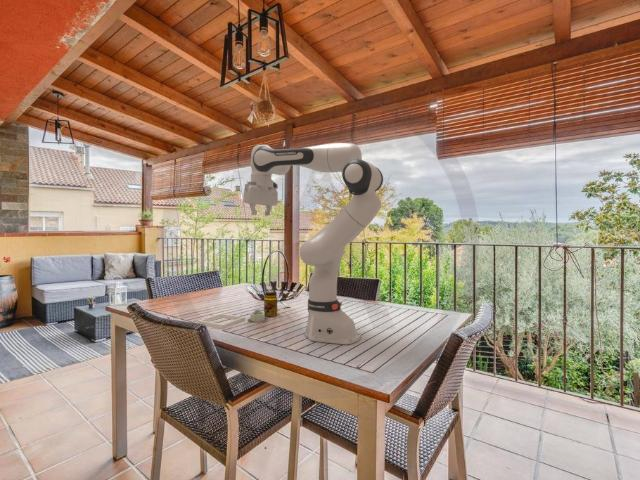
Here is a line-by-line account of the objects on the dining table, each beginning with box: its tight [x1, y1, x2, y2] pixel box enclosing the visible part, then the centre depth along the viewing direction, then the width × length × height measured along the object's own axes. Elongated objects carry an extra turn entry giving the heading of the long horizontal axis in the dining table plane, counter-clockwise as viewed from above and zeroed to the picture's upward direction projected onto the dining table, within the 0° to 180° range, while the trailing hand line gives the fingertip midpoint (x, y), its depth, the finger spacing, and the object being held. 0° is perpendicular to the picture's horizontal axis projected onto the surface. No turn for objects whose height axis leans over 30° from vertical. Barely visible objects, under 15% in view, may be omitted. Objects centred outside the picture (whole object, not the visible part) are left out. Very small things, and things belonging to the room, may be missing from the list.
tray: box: [197, 313, 246, 330], centre depth 151 cm, size 14×14×2 cm
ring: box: [250, 311, 266, 323], centre depth 156 cm, size 6×6×3 cm
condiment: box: [263, 291, 278, 318], centre depth 165 cm, size 7×8×12 cm
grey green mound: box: [247, 309, 268, 324], centre depth 156 cm, size 9×9×5 cm
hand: (261, 215), depth 151 cm, fingers open, 8 cm apart
